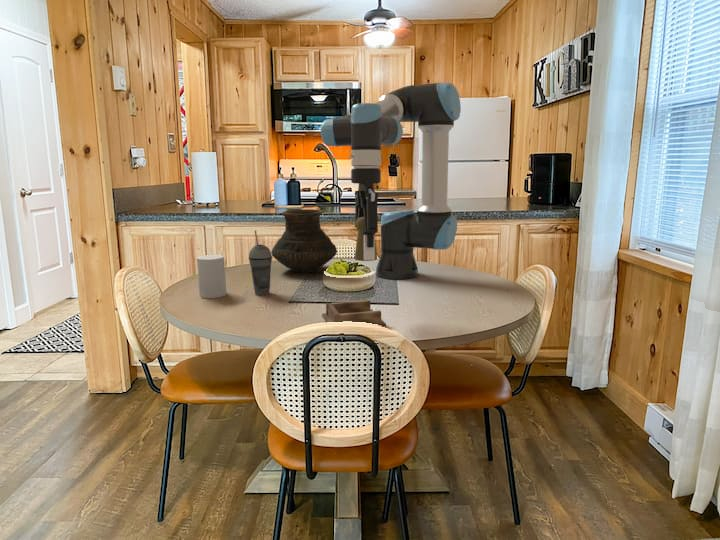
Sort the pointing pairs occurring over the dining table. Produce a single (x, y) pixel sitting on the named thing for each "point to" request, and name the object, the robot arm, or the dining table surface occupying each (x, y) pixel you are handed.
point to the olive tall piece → (361, 241)
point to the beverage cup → (260, 268)
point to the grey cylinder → (211, 276)
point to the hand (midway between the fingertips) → (365, 257)
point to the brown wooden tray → (352, 312)
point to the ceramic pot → (303, 242)
